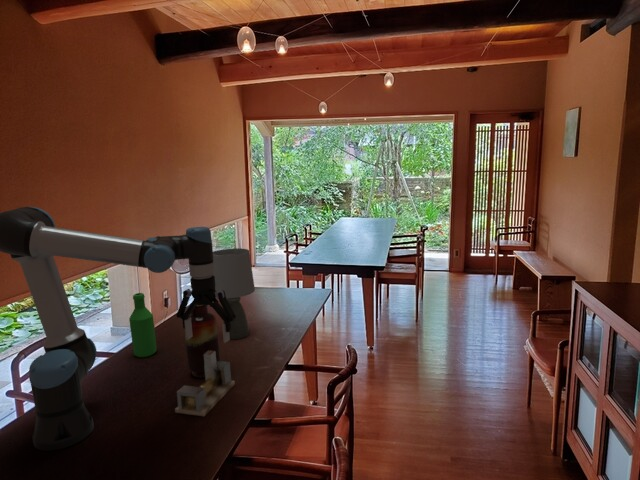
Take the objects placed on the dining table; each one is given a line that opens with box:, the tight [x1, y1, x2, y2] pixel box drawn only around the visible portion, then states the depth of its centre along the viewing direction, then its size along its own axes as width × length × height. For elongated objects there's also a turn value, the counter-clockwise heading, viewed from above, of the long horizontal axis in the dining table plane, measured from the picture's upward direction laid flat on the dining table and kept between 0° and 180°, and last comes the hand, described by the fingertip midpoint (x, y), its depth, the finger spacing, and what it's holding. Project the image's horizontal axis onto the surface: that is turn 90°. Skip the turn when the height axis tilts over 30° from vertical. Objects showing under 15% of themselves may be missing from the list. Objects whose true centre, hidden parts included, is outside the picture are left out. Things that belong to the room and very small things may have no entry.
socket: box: [204, 360, 232, 386], centre depth 153 cm, size 4×7×7 cm, turn 74°
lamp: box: [213, 247, 256, 340], centre depth 196 cm, size 19×19×37 cm
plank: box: [174, 380, 236, 417], centre depth 146 cm, size 20×10×1 cm, turn 164°
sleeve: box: [176, 385, 207, 412], centre depth 138 cm, size 4×7×6 cm, turn 74°
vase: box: [184, 303, 221, 379], centre depth 162 cm, size 11×11×26 cm
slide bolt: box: [184, 351, 222, 409], centre depth 145 cm, size 18×4×12 cm, turn 164°
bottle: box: [128, 292, 158, 358], centre depth 181 cm, size 9×9×25 cm
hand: (207, 339), depth 147 cm, fingers open, 13 cm apart
